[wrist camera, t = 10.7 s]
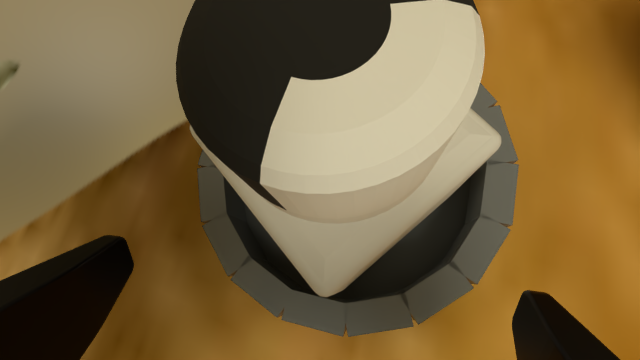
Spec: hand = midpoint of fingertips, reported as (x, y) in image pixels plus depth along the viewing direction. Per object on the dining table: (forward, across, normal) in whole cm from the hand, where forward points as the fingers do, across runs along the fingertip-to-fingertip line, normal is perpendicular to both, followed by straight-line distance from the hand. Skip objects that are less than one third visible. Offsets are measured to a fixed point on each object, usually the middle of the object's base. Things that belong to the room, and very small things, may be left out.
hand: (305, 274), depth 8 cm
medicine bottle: (+10, 0, +4) cm, 10 cm away
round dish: (+10, 0, +4) cm, 11 cm away
